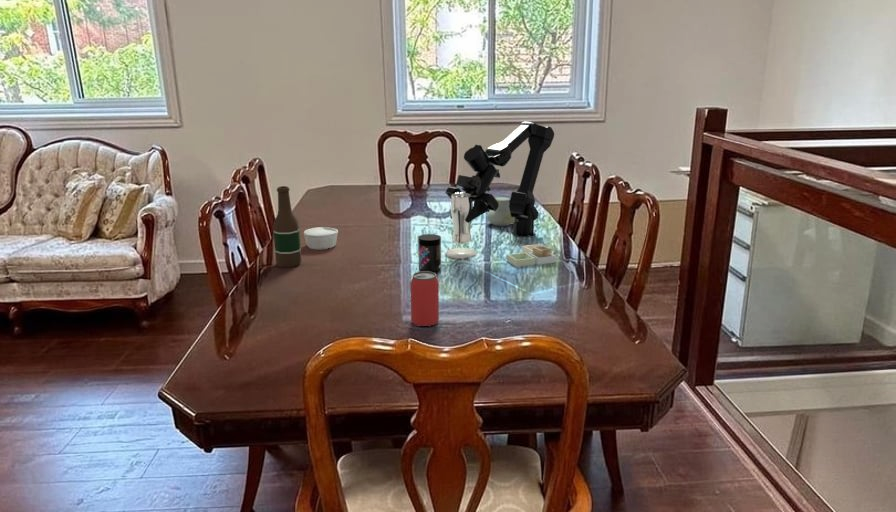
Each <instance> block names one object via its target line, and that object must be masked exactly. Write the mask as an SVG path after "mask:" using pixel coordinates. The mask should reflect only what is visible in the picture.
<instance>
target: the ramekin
mask: <svg viewBox="0 0 896 512" xmlns="http://www.w3.org/2000/svg"><path fill="white" fill-rule="evenodd" d="M338 235H339V230H338V229H337V228H333V227H328V226H320V227H319V226H318V227H312V228H308V229H307V228H306V229H305V230H304V231H303V236H304V239H305V243H306V246H307V247H308V248H309V249H311V250H319V251H320V250H328V248H329V249H332V248H334V247H335V246H336V245H337V240H338Z"/></svg>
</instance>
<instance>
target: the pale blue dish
mask: <svg viewBox="0 0 896 512" xmlns="http://www.w3.org/2000/svg"><path fill="white" fill-rule="evenodd" d="M528 254H529V255H531V256H532V257H534V258H535V265H540V266H541V265H545V264H553V263H556V262H557V256H556V255H555V254H553V253H551V256H547V257H540V258H538V257H537V256H535V255H533V252H528Z"/></svg>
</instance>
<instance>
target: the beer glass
mask: <svg viewBox="0 0 896 512" xmlns="http://www.w3.org/2000/svg"><path fill="white" fill-rule="evenodd" d="M451 196H452V197H451V199H450V201H451V202H450V215H451V216H452V219H451V221H452V226H453V235H452V242H453V243H455V244H469V243H471V242H472V235H471V224H472V221H471V222H469V223H467V222H466V220H467V217H468V215H469V213H470V212H471V210H472V208H473V206H474V201H473V199H472V194H470V193H465V192H462V193H454V194H452V195H451Z"/></svg>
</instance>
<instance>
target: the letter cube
mask: <svg viewBox="0 0 896 512" xmlns="http://www.w3.org/2000/svg"><path fill="white" fill-rule="evenodd" d="M551 254H552V248H551V247H547V246H545V245H543V246H538V247H533V255H535V256H537V257H538V258H540V257H547V256H551Z"/></svg>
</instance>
